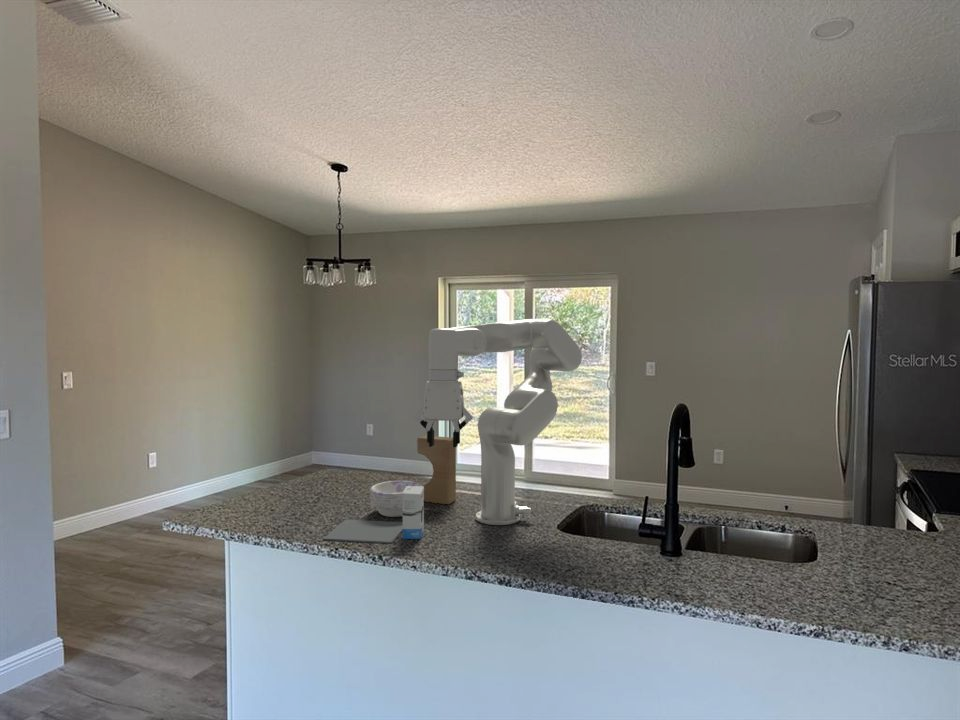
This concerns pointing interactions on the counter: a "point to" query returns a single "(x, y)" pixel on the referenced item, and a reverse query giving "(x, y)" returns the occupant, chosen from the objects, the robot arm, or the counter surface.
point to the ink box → (413, 512)
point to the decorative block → (440, 469)
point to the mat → (366, 531)
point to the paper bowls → (389, 497)
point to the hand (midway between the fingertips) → (443, 445)
